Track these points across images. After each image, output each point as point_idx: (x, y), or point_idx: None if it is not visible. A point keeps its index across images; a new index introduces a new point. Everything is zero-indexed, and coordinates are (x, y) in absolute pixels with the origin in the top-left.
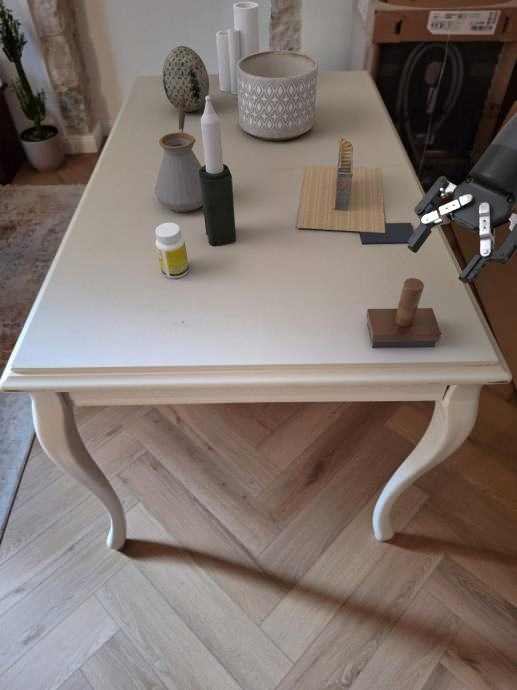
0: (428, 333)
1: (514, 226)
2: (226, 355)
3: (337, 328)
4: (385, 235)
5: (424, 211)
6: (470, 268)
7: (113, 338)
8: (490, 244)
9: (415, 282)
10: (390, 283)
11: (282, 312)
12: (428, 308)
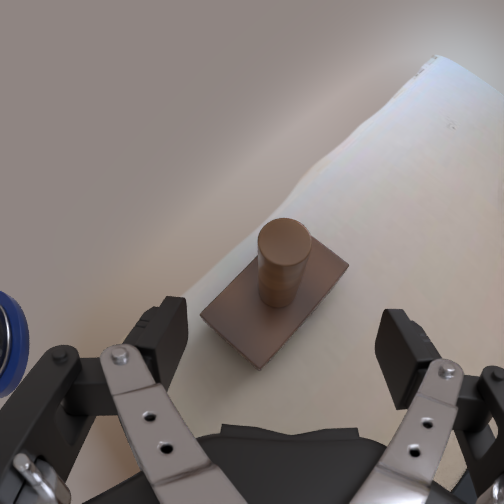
0: (219, 297)
1: (18, 454)
2: (390, 120)
3: (358, 236)
4: (473, 489)
5: (479, 397)
6: (156, 313)
7: (451, 90)
8: (107, 380)
9: (287, 249)
10: (386, 405)
11: (428, 204)
12: (264, 361)
